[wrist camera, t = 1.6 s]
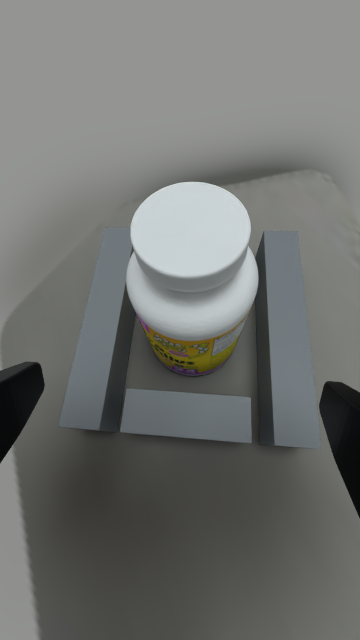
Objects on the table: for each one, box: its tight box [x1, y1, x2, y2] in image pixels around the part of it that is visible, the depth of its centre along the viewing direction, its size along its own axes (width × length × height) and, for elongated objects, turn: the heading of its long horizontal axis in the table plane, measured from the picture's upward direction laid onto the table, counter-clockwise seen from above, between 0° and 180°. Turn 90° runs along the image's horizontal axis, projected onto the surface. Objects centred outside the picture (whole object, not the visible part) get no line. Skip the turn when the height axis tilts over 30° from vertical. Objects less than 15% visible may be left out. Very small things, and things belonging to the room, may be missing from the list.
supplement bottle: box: [126, 182, 258, 376], centre depth 17 cm, size 7×7×13 cm
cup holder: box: [58, 227, 322, 449], centre depth 21 cm, size 15×15×4 cm
